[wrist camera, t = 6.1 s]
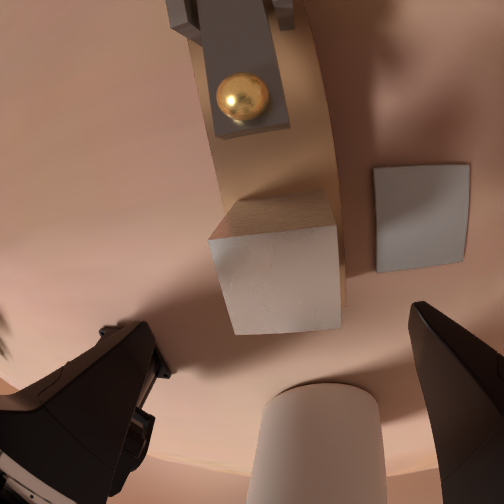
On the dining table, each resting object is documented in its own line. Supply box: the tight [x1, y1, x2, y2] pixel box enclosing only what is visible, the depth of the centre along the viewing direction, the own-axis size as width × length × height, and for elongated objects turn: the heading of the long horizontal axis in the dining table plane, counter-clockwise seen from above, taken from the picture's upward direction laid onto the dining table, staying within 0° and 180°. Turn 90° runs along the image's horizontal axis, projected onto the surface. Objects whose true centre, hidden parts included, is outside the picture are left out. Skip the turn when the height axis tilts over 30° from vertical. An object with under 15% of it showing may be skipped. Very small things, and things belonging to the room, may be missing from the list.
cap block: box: [208, 189, 341, 335], centre depth 13 cm, size 4×4×5 cm
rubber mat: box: [372, 164, 469, 273], centre depth 16 cm, size 7×7×1 cm
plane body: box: [166, 0, 346, 307], centre depth 13 cm, size 20×6×7 cm, turn 11°
